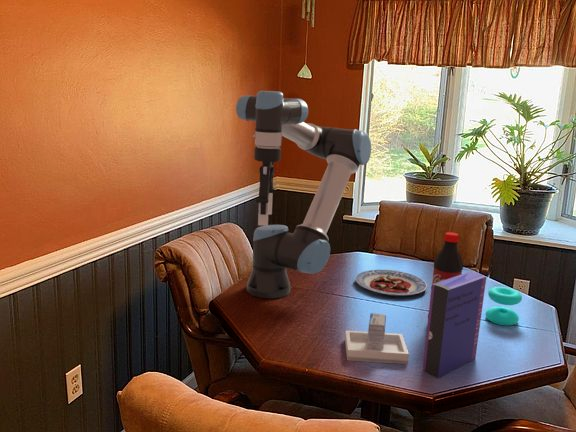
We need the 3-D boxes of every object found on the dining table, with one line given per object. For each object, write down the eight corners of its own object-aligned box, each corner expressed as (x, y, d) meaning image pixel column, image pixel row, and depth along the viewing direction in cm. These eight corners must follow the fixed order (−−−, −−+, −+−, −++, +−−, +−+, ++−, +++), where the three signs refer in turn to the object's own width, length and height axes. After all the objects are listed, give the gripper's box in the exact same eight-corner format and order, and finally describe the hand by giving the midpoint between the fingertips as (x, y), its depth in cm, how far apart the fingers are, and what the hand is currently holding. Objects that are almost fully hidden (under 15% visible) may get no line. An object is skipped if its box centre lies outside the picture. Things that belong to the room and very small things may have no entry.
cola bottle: (436, 334, 167) (447, 237, 160) (421, 322, 175) (431, 229, 168) (460, 332, 170) (473, 236, 163) (445, 320, 178) (456, 229, 171)
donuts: (485, 291, 176) (493, 283, 184) (481, 321, 179) (489, 311, 187) (518, 299, 171) (525, 290, 179) (513, 329, 173) (521, 319, 181)
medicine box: (382, 355, 151) (385, 325, 148) (366, 353, 151) (368, 323, 149) (383, 343, 158) (386, 314, 156) (367, 340, 159) (370, 312, 157)
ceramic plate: (429, 303, 192) (430, 295, 191) (353, 296, 195) (354, 288, 194) (423, 278, 217) (424, 271, 216) (356, 272, 220) (356, 265, 219)
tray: (345, 340, 161) (345, 330, 160) (401, 343, 160) (402, 334, 160) (347, 360, 149) (347, 349, 149) (407, 364, 149) (408, 353, 148)
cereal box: (460, 352, 157) (470, 270, 151) (475, 359, 153) (486, 275, 148) (422, 370, 146) (431, 283, 140) (437, 378, 142) (448, 289, 137)
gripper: (259, 141, 172) (256, 209, 177) (249, 151, 147) (247, 229, 152) (283, 142, 171) (280, 210, 176) (278, 152, 147) (274, 231, 152)
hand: (265, 219), depth 164 cm, fingers open, 13 cm apart
